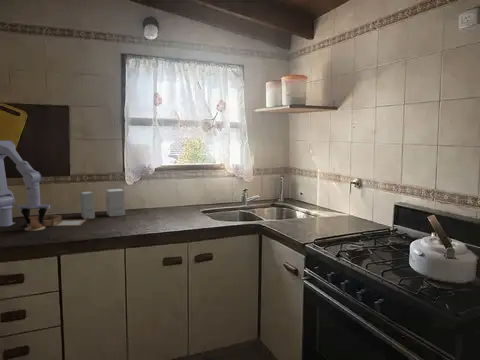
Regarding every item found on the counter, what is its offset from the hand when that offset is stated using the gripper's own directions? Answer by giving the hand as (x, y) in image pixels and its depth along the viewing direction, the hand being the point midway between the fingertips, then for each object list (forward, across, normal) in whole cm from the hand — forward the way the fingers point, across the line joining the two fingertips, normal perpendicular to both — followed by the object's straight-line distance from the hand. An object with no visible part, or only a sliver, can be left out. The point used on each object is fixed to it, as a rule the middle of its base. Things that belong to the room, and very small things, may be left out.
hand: (34, 223), depth 194 cm
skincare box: (+3, +19, +26) cm, 32 cm away
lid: (+3, +14, +11) cm, 18 cm away
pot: (+2, 0, +1) cm, 2 cm away
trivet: (+3, 0, 0) cm, 3 cm away
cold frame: (+3, +1, +11) cm, 11 cm away
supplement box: (+3, +33, +34) cm, 48 cm away
